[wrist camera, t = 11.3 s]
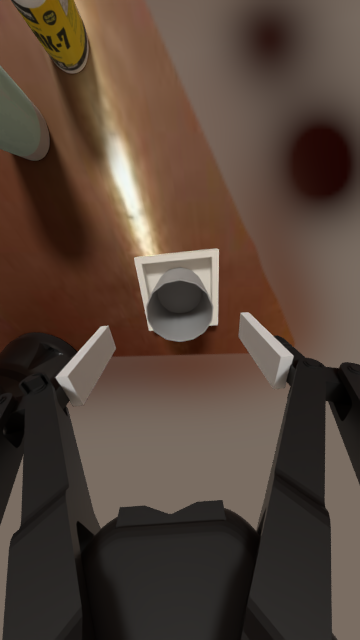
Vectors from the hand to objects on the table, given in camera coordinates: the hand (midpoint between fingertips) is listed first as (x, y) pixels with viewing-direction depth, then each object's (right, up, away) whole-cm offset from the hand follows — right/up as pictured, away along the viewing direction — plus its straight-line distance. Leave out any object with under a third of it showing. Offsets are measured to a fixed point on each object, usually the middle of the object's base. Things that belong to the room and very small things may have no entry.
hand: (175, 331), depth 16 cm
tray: (0, +7, +13) cm, 15 cm away
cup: (0, +6, +13) cm, 14 cm away
